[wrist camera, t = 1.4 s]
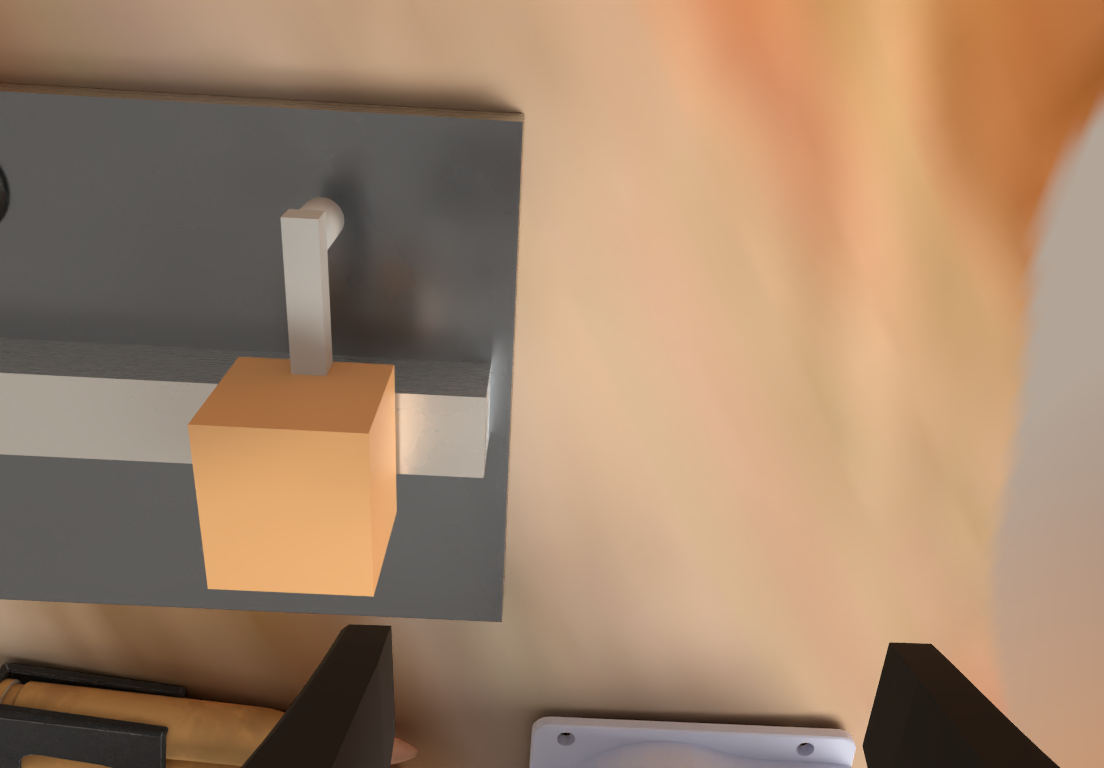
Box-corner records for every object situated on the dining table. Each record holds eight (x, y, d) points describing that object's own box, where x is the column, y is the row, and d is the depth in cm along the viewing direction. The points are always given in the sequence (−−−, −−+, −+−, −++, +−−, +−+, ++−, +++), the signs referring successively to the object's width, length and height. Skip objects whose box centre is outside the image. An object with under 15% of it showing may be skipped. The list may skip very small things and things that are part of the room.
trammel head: (400, 199, 19) (363, 261, 15) (404, 485, 22) (373, 596, 18) (241, 189, 19) (166, 250, 15) (265, 479, 22) (207, 588, 18)
